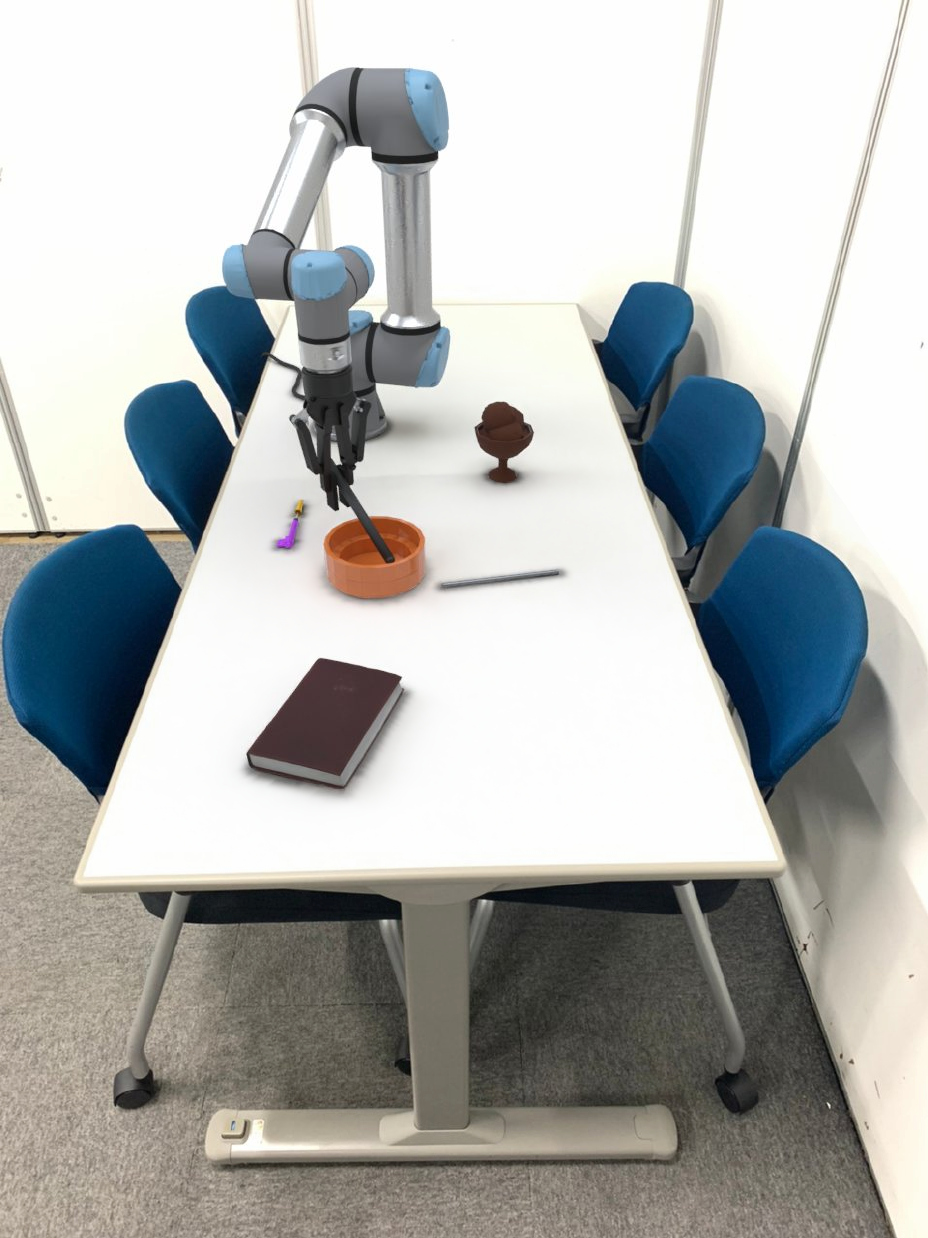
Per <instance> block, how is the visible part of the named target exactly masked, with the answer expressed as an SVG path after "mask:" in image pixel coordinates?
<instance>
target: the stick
mask: <svg viewBox="0 0 928 1238" xmlns="http://www.w3.org/2000/svg"><path fill="white" fill-rule="evenodd" d="M336 465H337V464H336V462H335V461H334V460H333V458H332V457H331V470H332V471H333V472H334V473H335V474H336V480H337V489H338V488H339V489H340V491H341V492H342V494H343V496H344V497H345V499H346V500H347V502H348V504H349V505H350V507H349V508H351V510H352V512H353V513H354V514H355V517H356V518H358V520H359V521H360V523H361V524H362V526H363V528H364V529H365V531H366V532H367V534H368V536H369V537H370V539H371V540H372V542H373V544H374V545H375V547H376V548H377V550H378V552H379V553H380V555H381V556H382V558H383V560H384V561H385V563H386V564H388V563H393V562H395V558H394V556H393V554H392V553H391V551H390V549H389V548H388V546H387V545H386V543H385V542H384V540H383V538H382V537H381V535H380V534H379V532H378V530H377V529H376V527H375V526H374V524H373V523H372V521H371V519H370V518H369V515H368V513H367V511H366V509H365V508H364V507H363V505H362V503H361V502H360V500H359V498H358V497H357V496H356V494H355V492H354V491H353V489H352V488H351V485H350V486H349V485H348V483H347V481H346V480H345V478H344V477H343V475H342V473H341V472H340V470H339V469H338V467H337V466H336Z"/></svg>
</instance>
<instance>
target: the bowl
mask: <svg viewBox="0 0 928 1238" xmlns="http://www.w3.org/2000/svg"><path fill="white" fill-rule="evenodd" d="M368 516H369V515H368ZM369 518H370V519H371V521H372V523H373V524H374V526H375V527H376V529H377V530H378V532H379V534H380V535H381V537H382V538H383V540H384V542H385V543H386V545H387V546H388V548H389V549H390V551H391V553H392V554H393V556H394V558H395V562H393V563H388V564H386V563H385V561H384V560H383V558H382V556H381V555H380V553H379V552H378V550H377V548H376V547H375V545H374V544H373V542H372V540H371V539H370V537H369V536H368V534H367V532H366V531H365V529H364V528H363V526H362V524H361V523H360V521H359V520H358V518H357V517H356V518H353V519H350V520H349V519H348V520H346V521H344V522H341V523H340V524H338V525H336V526H335V527H333V528H331V530H330V531H329V532H327V534H326V535H325V537H324V540H323V555H324V557H323V558H324V565H325V574H326V577H327V581H328V582H329V583H330V585H332V586H333V588H335V589H336V590H338V591H340V592H342V593H344V594H346V595H349V596H354V597H359V598H363V599H364V598H367V599H369V598H370V599H381V598H386V597H394V596H396V595H400V594H403V593H405V592H408V591H410V590H412V589H413V588H414V587H415V586H416V587H417V585H419V584H420V583H421V581H422V580H423V579H424V577H425V576H426V570H427V569H426V567H427V563H426V562H427V560H426V559H427V558H426V537H425V535H424V533H423V531H422V529H420V528H419V527H418V526H416V525H415V524H414V523H412V522H410V521H407V520H405V519H402V518H399V517H392V516H386V515H370V516H369Z"/></svg>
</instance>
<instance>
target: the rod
mask: <svg viewBox="0 0 928 1238" xmlns="http://www.w3.org/2000/svg"><path fill="white" fill-rule="evenodd" d="M559 574H560V569H551V570H542V571H533V572H526V573H525V572H524V573H517V574H507V575H499V576H491V577H483V578H475V579H467V580H466V579H465V580H458V581H449V582H442V583H441V585H440V586H441V588H443V589H445V588H450V587H451V588H452V587H460V586H461V587H462V586H468V585H469V586H470V585H477V584H478V585H479V584H486V583H494V582H501V581H510V580H518V579H526V578H536V577H544V576H552V575H559Z"/></svg>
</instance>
